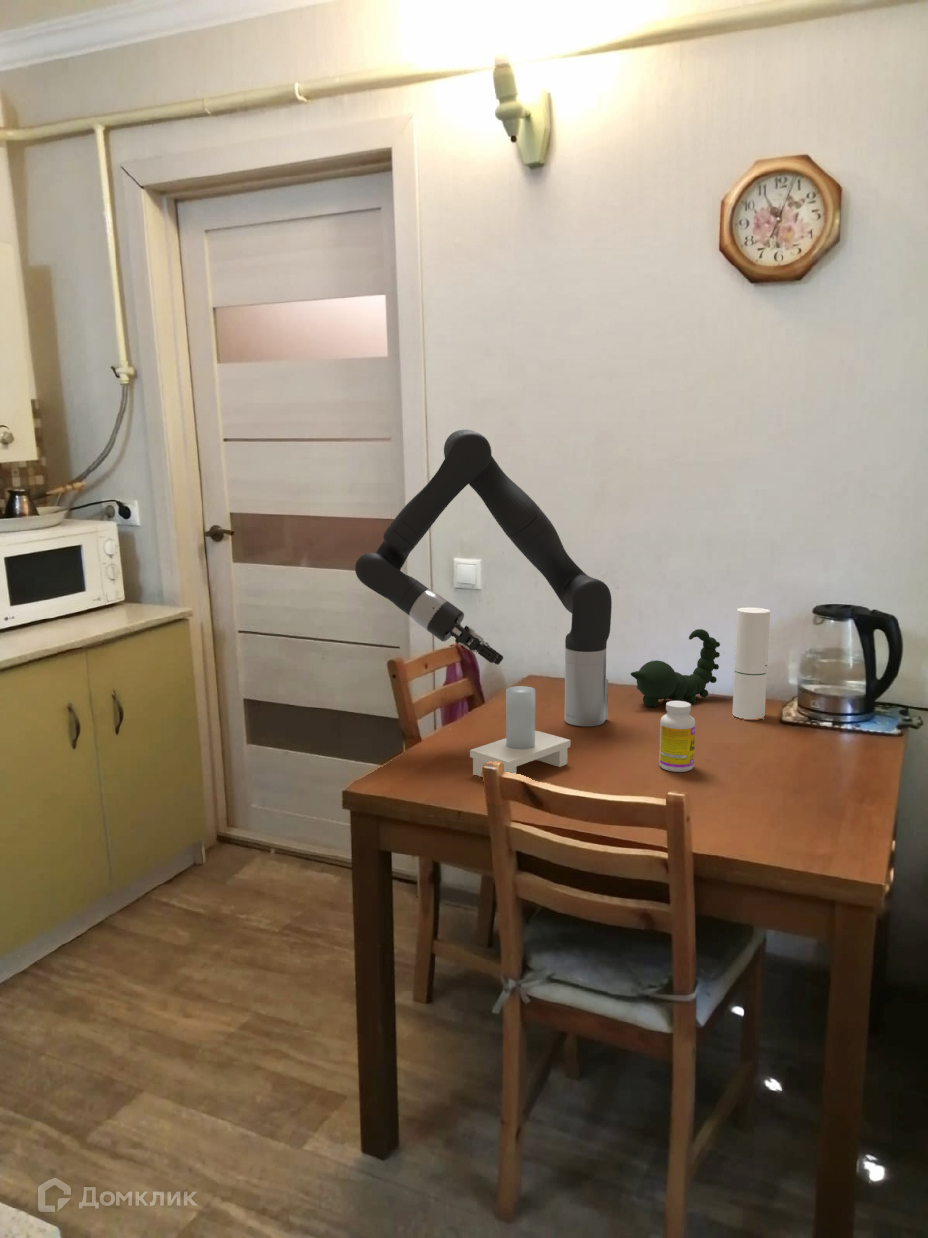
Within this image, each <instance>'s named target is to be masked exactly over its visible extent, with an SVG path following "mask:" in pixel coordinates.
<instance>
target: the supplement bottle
mask: <svg viewBox="0 0 928 1238" xmlns="http://www.w3.org/2000/svg"><path fill="white" fill-rule="evenodd" d="M665 710H666V713H665V714H664V715H662V716H661V718H660V720H659V721H660V722H659V723H660V729H659V756H658V757H659V759H658V761H659V762H658V763H659V767H660V768H661V769H663V770H666V771H668V772H673V773H674V772H675V773H685V772H688V771H691V770H692V769H693V768H694V765H695V745H696V744H695V742H696V720H695V718H694V717H693V716H691V715H690V712H691V711H692V703H689V702H688V701H685V700H683V701H672V700H670V701H667V702H666V704H665Z"/></svg>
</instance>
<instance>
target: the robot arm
mask: <svg viewBox="0 0 928 1238" xmlns="http://www.w3.org/2000/svg"><path fill="white" fill-rule="evenodd" d="M491 447H492V446H491V445H490V442H489V441H488V438H486V437H485V436H484V435H482V434H481V433H479V432H476V431H474V430H472V429H459V430H455V431H454V432H452V433H451V434H450V435H449V436H447V438H446V439H445V442H444V446H443V455H444V459H443V460H442V463H441V465H440V467H439V468H438V470H437V471H436V473H434V475H433V477H432V478H431V479H430V480H429V481H428V482H427V484H426V485H425V486H424V487H423V488H422V489H421V490H420V491H419V492H418V493H417V494H416V495H415V496H414V497H413V498H412V499H410V500H409V502H407V504H406V505H404V507H403V508H402V510H401V511H399V512H398V515H396V516H395V518H394V519H393V520H392V521H391V523H390V524H389V526H388V527H387V528H386V530H385V531H384V533H383V536H382V537H383V540H382V543H381V544H380V546H379V547H378V548H377V550H376V551H375V552H367V553H364V554H362V555H361V556H360V557H359V558H358V559H357V560H356V562H355V567H354V569H355V570H354V571H355V575H356V577H357V578H358V580H359V581H360V582H361V583H362V584H363V585H364V586H366V587H367V588H368V589H370V590H372V591H374V592H375V593H377V594H378V595H380V596H382V597H383V598H385V599H387V600H389V601H390V602H391V603H392V604H394V605H395V606H396V607H397V608H398V609H400V610H401V611H402V612H404V613H405V614H407V616H409V617H410V618H411V619H413V620H414V621H415V623H417V625H419V626H421V627H422V628H424V630H426V631H427V632H429V633H430V634H432V636H434V637H435V638H437V639H438V640H439V641H441V642H447V641H448V640H449V639H450V638H451V637H454V638H455V640H454V641H455V642H456V643H458V644H459V645H461V646H463V647H464V648H465V649H466V650H469V651H472V652H473V653H475V654H478V655H480V656H481V657H482V658H483V659H485V660H486V661H488V662H489V663H491V664H493V663H494V664H495V665H500V664H501V662H502V661H503V660H504V655H502V654H501V653H500V652H498V651H496V649H494V648H492V647H491V645H490V644H489V643H488V642H487V641H486V642H485V641H484V638H483V637H482V636H481V635H479V633H476V631H475V629H472V627H470V626H468V625H464V627H463V626H462V624H461V623H462V621H463V620H464V618H465V613H464V611H462V610H460V609H459V607H457V606H455V605H454V604H453V603H451V602H450V601H449V600H447V599H446V598H444V597H443V596H442V595H440V594H438V593H437V592H435V591H433V590H431V589H430V588H428V587H427V586H425V584H423V583H422V582H420V580H418V579H416V578H414V577H412V576H410V575H407V574H406V573H404V572H403V571H402V568H403V566H404V565H405V562H406V561H407V559H408V557H409V555H410V553H412V551H413V550H414V549H415V547H416V546H417V545H418V544H419V543H420V542H421V540H423V539H422V538H423V537H424V536H425V535H426V533H427V532H428V531H429V530H430V528H431V527H432V526H433V524H435V522H436V521H437V519H438V518H439V517H440V516H441V514H442V513H443V512H444V511H445V509H446V508H447V507H448V506H449V504H451V502H452V501H453V500H454V499H455V498H456V497H457V496H458V495H459V494H460V493H461V492H462V491H463V490H464V489H465V487H467V486H468V485H469V486H470V487H471V488H472V490H473V491H474V492H476V494H477V495H478V496H479V498H480V499H481V500H482V502H483V504H484V505H485V506H486V507H487V509H488V511H489V513H490V514H491V515H492V517H493V519H494V520H495V521H496V522H497V525H499V526H500V528H501V530H502V531H503V532H504V534H505V535H506V536H507V538H509V540H510V541H511V542H512V543H513V544H514V546H515V547H516V548H517V549H518V550H519V552H521V554H523V556H524V557H525V559H527V560H528V561H529V562H530V563H531V564H532V566H534V568H536V569H537V570H538V571H539V573H540V574H542V576H543V577H544V579H546V581H547V583H548V584H549V586H550V587H551V588H552V590H553V591H554V593H555V595H556V596H557V598H558V600H559V601H560V602H561V603H562V605H563V607H564V608H565V609H566V610H567V611H568V612H569V613H571V626H570V627H571V629H570V631H569V633H567V634H566V635H565V641H564V643H565V644H564V645H565V646H564V649H565V651H564V660H565V661H564V722H565V723H567V724H568V725H571V726H577V727H597V726H601V725H602V724H604V723H606V720H608V712H609V711H608V709H609V708H608V705H609V704H608V702H609V700H608V699H609V679H608V678H607V647H608V646H607V643H608V640H609V638H610V637H609V636H610V633H611V624H612V623H611V621H612V608H613V607H612V600H613V599H612V593H611V591H610V588H609V586H608V584H606V583H605V582H604V581H602V580H600V579H597V578H596V577H595V578H594V577H591V576H590V575H588V574H586V572H585V571H583V570H582V568H580V567H579V566H578V564H576V562H575V561H573V559H572V557H570V556H569V554H568V553H567V551H566V549H565V547H564V545H563V543H562V541H561V538H560V535H559V534H558V532H557V529H556V528H555V526H554V525H553V522H552V521H551V520H550V519H549V518H548V516H547V515H546V514H545V512H544V511H543V510H542V509H541V508H540V507H539V505H538V504H537V503H536V502H535V501H534V500H533V499H532V498H531V497H530V495H528V494H527V493H526V492H525V491H524V490H523V489H522V488H521V487H519V486H518V485H517V484H516V483H515V482H514V481H513V480H512V479H511V477H510V478H509V476H508V475H507V474H506V473H505V472H504V470H503V469H502V468H501V466H500V465H499V463H498V462H497V461H496V459H495V458H494V456H492V448H491Z"/></svg>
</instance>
